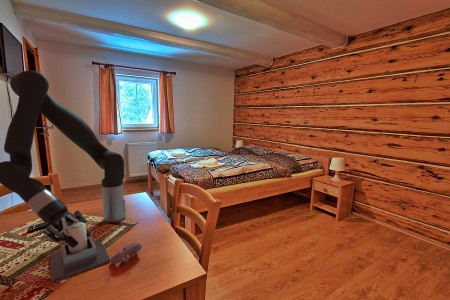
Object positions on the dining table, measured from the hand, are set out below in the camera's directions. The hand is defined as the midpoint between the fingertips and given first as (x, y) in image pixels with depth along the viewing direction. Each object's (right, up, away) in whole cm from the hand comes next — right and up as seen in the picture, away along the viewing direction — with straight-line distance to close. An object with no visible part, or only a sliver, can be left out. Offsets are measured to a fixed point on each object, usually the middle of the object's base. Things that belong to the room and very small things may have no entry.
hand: (82, 240), depth 78 cm
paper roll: (-2, -5, +1) cm, 5 cm away
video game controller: (+15, -8, +2) cm, 17 cm away
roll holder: (-2, -7, +1) cm, 8 cm away
